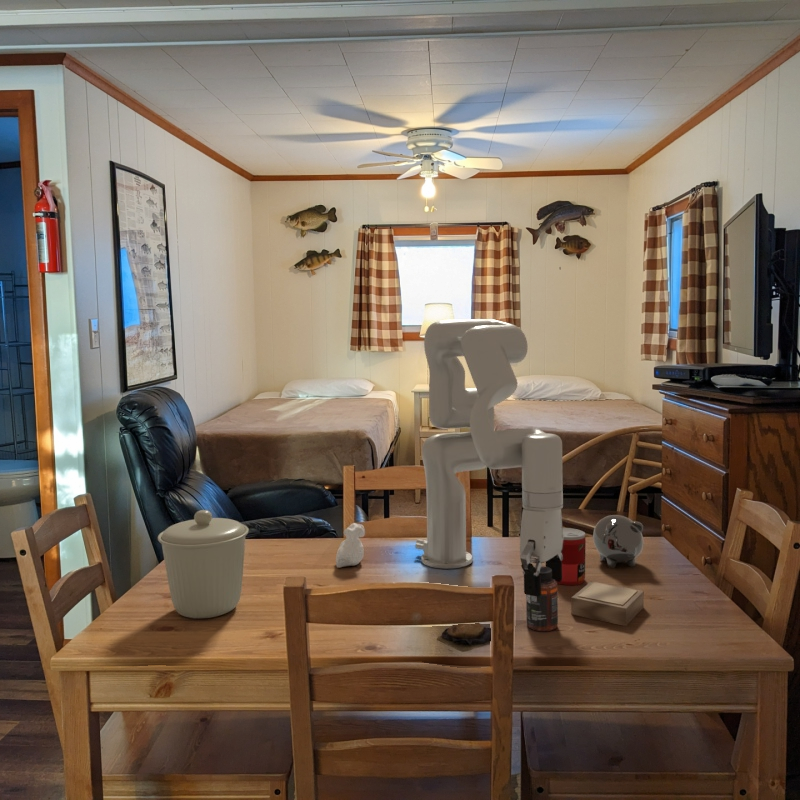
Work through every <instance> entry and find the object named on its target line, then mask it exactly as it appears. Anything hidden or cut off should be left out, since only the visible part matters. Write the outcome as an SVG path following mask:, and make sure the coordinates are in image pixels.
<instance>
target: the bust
mask: <svg viewBox="0 0 800 800" xmlns="http://www.w3.org/2000/svg"><path fill="white" fill-rule="evenodd" d="M343 534H344V536H345V539H344V540H342V541H341V542H340V544H339V547H338V549H337V552H336V554H335V564H336V568H338V569H340V568H344V567H350V566H357V565H358V564H359V563H360V562H361V561H362V560H363V558H364V554H365V550H364V545H363V543H362V541H361V539H360V538H364V536H365V535H366V530H365V527H364V525H363V524H360V523H357V522H353V523H351V524H350V525H349V526H347V528H346V529H344V530H343Z"/></svg>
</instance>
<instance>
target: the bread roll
mask: <svg viewBox="0 0 800 800" xmlns="http://www.w3.org/2000/svg"><path fill="white" fill-rule="evenodd" d="M491 628H492V627H485V626H483V625H482V623H480V622H478V623H475V624H458V625H453V624H452V625H450V627H449V628H445V629H444V631H442V633H441V635H440V636H438V637H437V638H436V640H437V641H439V642H442V643H444V644H445V645H447V646H450V647H451V648H454V649H456V650H458V651H460V652H466V651H469V650H472V649H476V648H478V647H481V646H483V645H486V644H488V643H490V642H492V641H491Z"/></svg>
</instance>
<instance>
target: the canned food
mask: <svg viewBox="0 0 800 800" xmlns="http://www.w3.org/2000/svg"><path fill="white" fill-rule="evenodd" d="M562 529H563V535H564V539H563V550H562V555H563V559H562V581H561V582H557V581H556V582H557V585H558V584H559V585H562V586H578V585H581V584H583V583H584V581H585V579H586V546H587V545H586V532H585V531H583V530H580V529H576V528H571V527H562Z"/></svg>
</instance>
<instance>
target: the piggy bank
mask: <svg viewBox="0 0 800 800" xmlns="http://www.w3.org/2000/svg"><path fill="white" fill-rule="evenodd" d="M643 530H644V525H643V523H641V522H640V521H637V520H634V521H633V520H632V519H630V518H629V517H626V516H625V515H619V514H612V515H611V514H609V515H607V516H604V517H603V518H601V519H599V521H598V522H597V523H596V524H595V527H594V528H593V534H592V539H593V545H594V547H595V549H596V550H597V552H598V553H599V560H600V561H601V562H605V563H606V562H607V563H606V564H607V566H608V568H615V567H616V566H617V564H618V563H626V564H627V566H628V567H635V566H636V558H637V557H638V556H639V555H640V554H641V553H642V551H643V547H644V537H643V534H642V532H643ZM638 558H639V557H638Z"/></svg>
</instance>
